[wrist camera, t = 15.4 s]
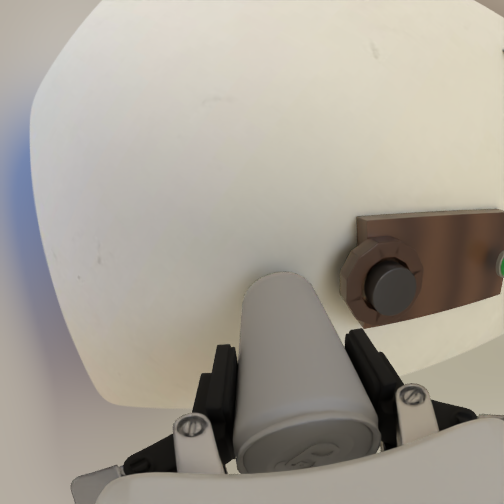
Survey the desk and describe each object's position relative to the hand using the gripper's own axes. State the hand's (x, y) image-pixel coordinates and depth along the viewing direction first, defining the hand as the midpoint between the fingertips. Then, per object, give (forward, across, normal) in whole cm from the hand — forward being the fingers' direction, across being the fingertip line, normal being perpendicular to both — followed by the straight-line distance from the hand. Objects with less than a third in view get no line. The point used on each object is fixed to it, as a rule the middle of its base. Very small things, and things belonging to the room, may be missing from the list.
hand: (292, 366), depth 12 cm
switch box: (+11, -15, 0) cm, 19 cm away
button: (+8, -8, 0) cm, 11 cm away
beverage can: (+7, 0, 0) cm, 7 cm away
